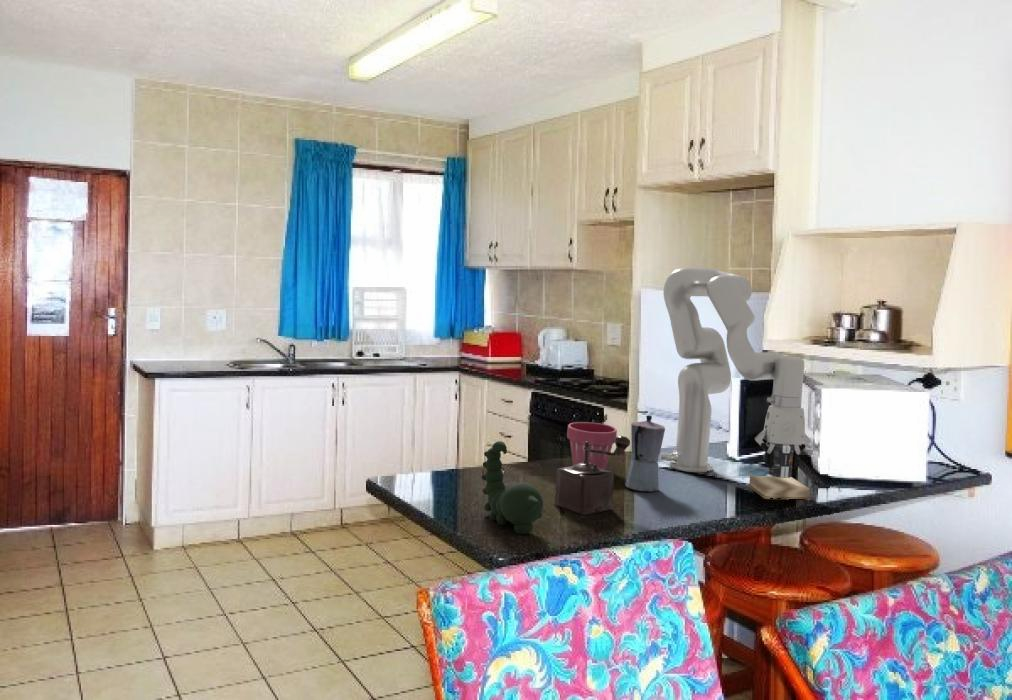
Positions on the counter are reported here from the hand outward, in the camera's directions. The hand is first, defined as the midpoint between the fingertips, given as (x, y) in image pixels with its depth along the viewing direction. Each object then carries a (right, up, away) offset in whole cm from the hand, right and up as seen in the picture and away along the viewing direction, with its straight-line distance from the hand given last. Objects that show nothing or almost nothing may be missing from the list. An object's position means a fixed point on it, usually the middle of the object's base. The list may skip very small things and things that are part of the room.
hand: (780, 466), depth 239 cm
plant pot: (-51, -3, +15) cm, 53 cm away
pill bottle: (0, -3, 0) cm, 3 cm away
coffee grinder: (-54, -7, -21) cm, 58 cm away
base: (0, -7, +1) cm, 7 cm away
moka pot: (-38, -6, -3) cm, 39 cm away
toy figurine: (-74, -8, -39) cm, 84 cm away
